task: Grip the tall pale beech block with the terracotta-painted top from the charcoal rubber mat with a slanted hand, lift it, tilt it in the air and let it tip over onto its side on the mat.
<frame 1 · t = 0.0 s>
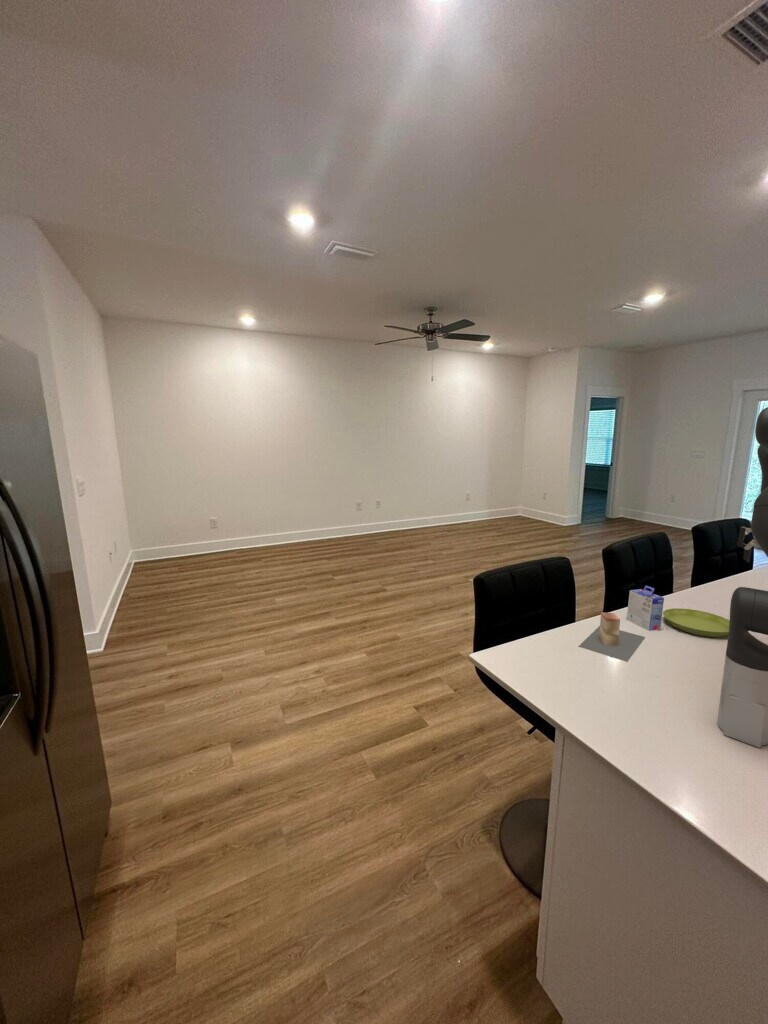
hand: (766, 564, 120), 29 cm above the table, tool pointing down, fingers open, 8 cm apart
rubber mat: (612, 643, 135), on the table
saucer: (696, 628, 146), on the table
ink cartridge box: (643, 626, 147), on the table
beech block: (608, 641, 134), point 1 cm above the table, touching rubber mat
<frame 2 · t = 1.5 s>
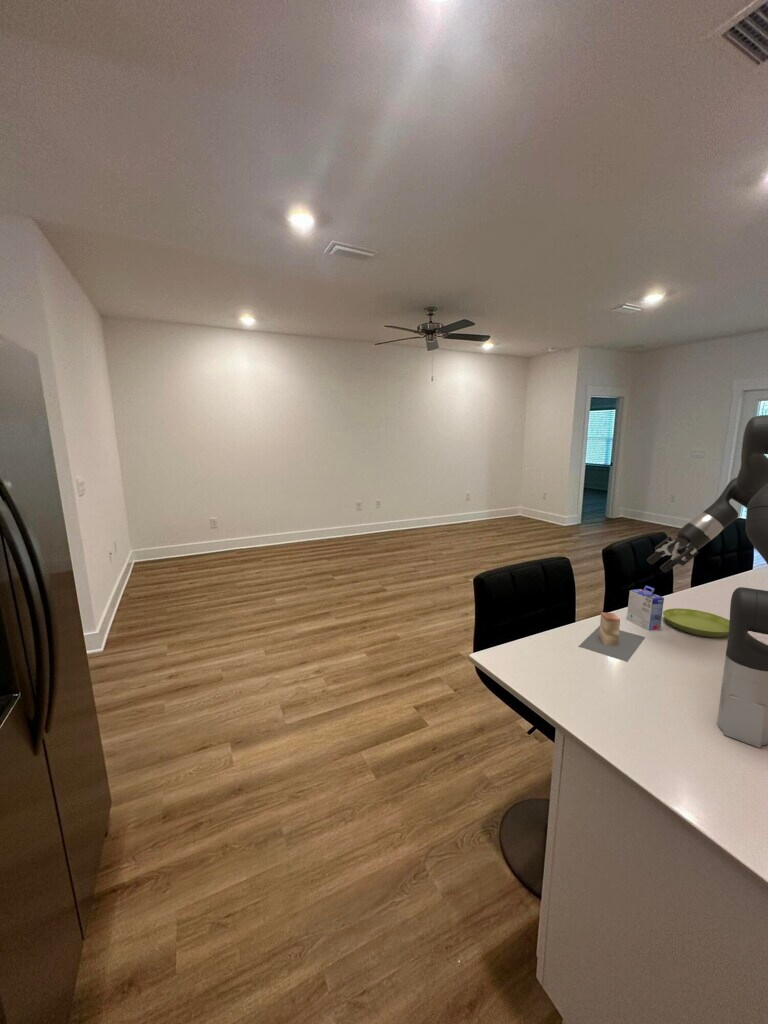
hand: (655, 566, 129), 27 cm above the table, tool tilted 45°, fingers open, 8 cm apart
nothing on the table moved.
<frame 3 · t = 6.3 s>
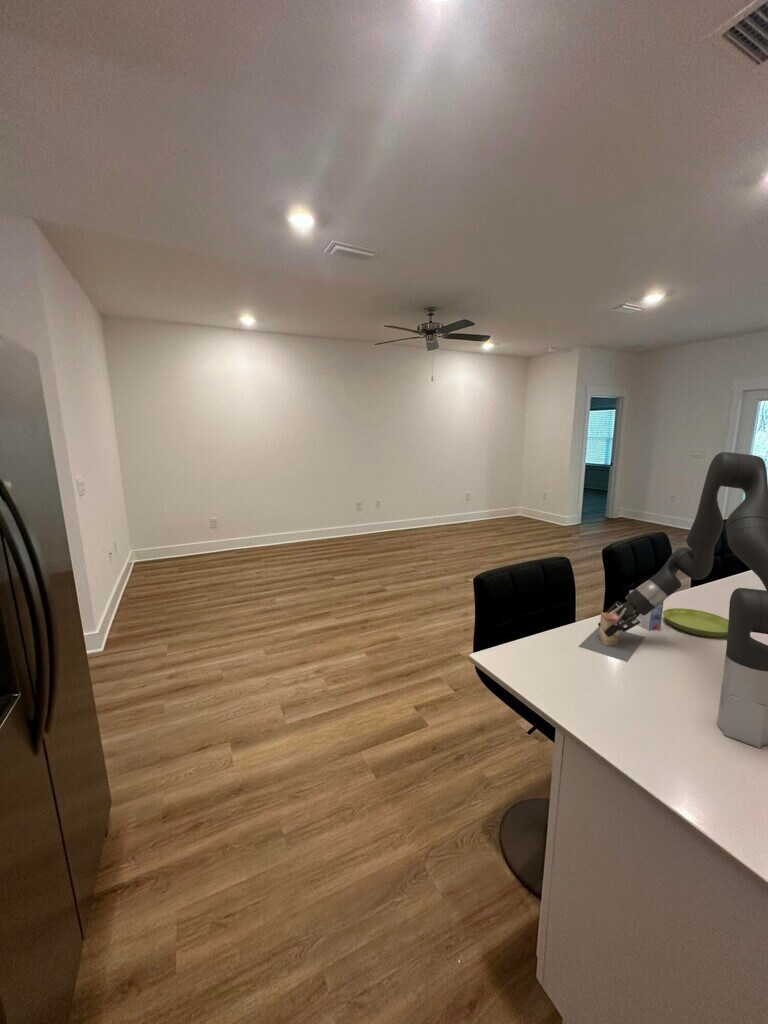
hand: (603, 630, 134), 4 cm above the table, tool tilted 45°, fingers closed on beech block, 5 cm apart
beech block: (608, 641, 134), point 1 cm above the table, touching gripper, rubber mat
everything else where it was.
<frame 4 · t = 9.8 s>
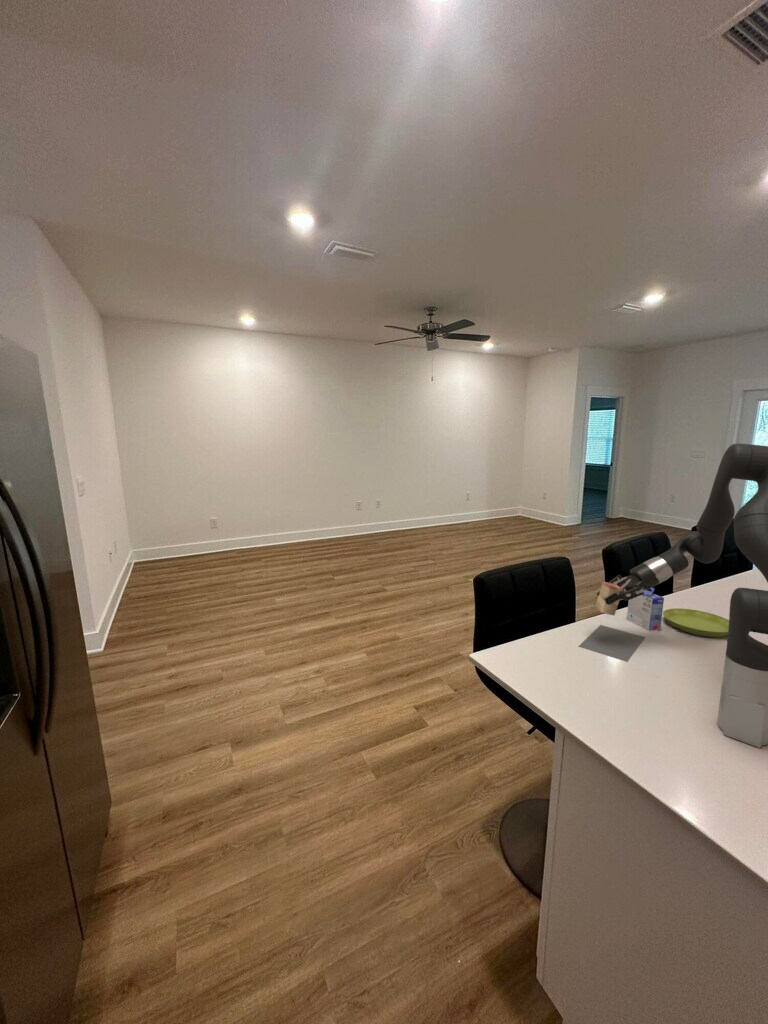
hand: (602, 599, 132), 15 cm above the table, tool tilted 60°, fingers closed on beech block, 5 cm apart
beech block: (604, 611, 132), point 11 cm above the table, tilted 14°, touching gripper
everything else where it was.
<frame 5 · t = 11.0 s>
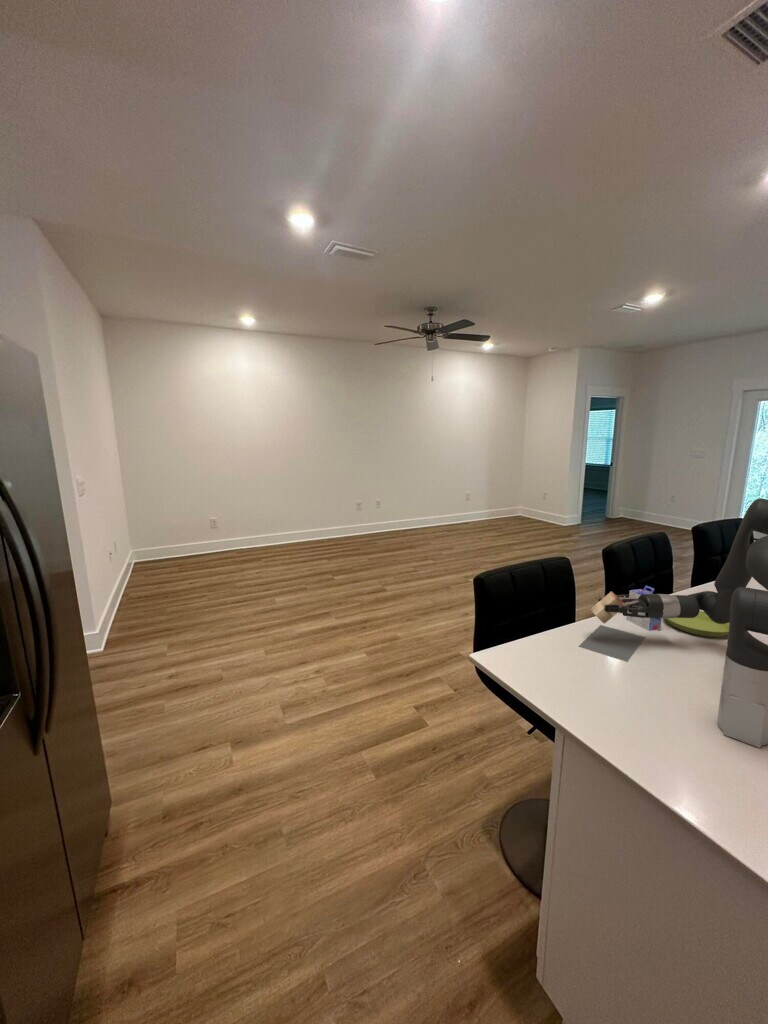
hand: (602, 605, 133), 13 cm above the table, tool horizontal, fingers closed on beech block, 5 cm apart
beech block: (596, 616, 134), point 9 cm above the table, tilted 43°, touching gripper
everything else where it was.
when the fingers open (9 cm above the table, at t = 12.8 s): beech block drops 2 cm and tips over, resting on rubber mat.
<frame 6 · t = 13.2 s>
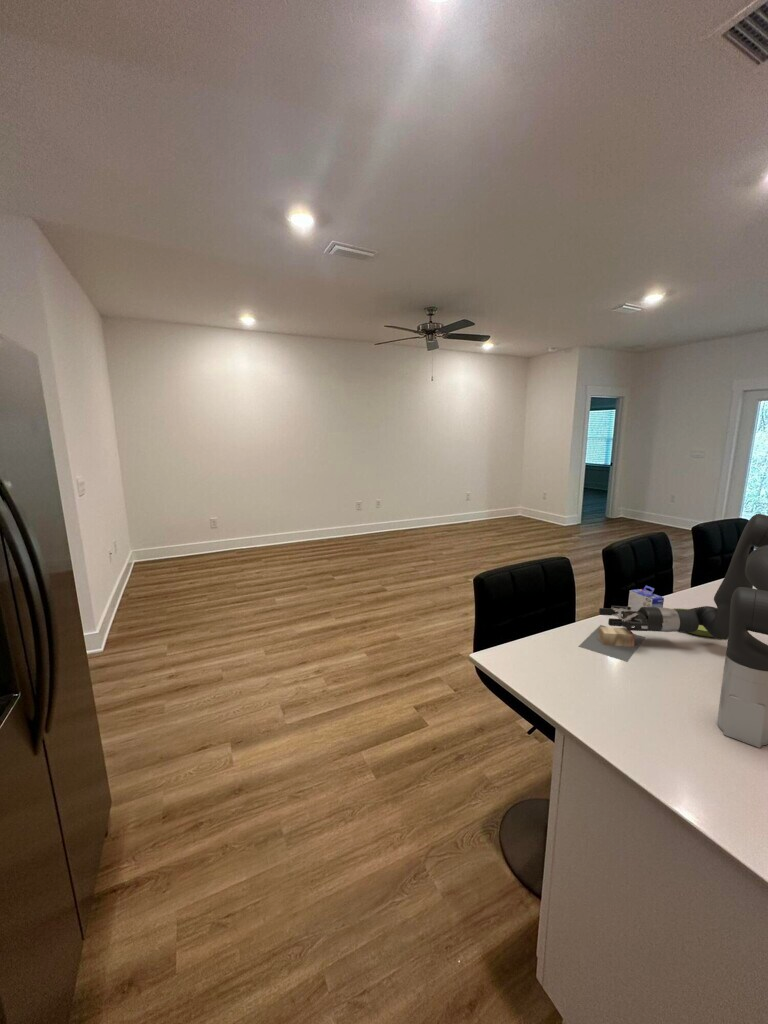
hand: (604, 616, 133), 9 cm above the table, tool horizontal, fingers open, 8 cm apart
beech block: (601, 635, 134), point 3 cm above the table, tilted 90°, touching rubber mat
everything else where it was.
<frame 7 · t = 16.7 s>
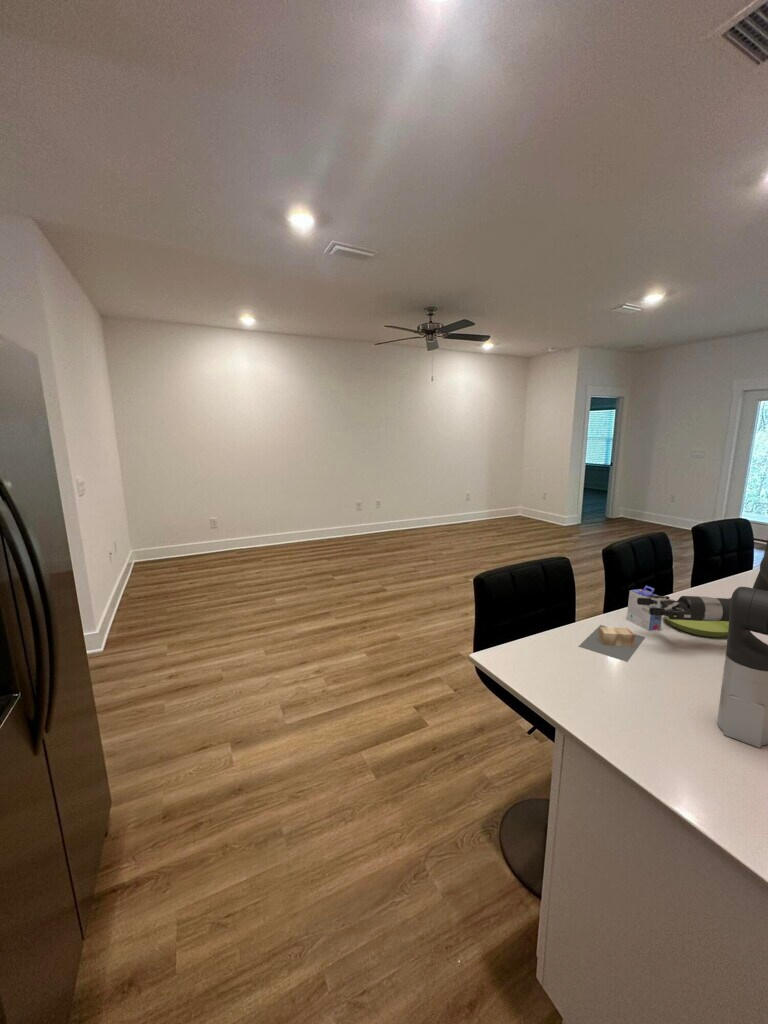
hand: (643, 605, 131), 13 cm above the table, tool horizontal, fingers open, 8 cm apart
nothing on the table moved.
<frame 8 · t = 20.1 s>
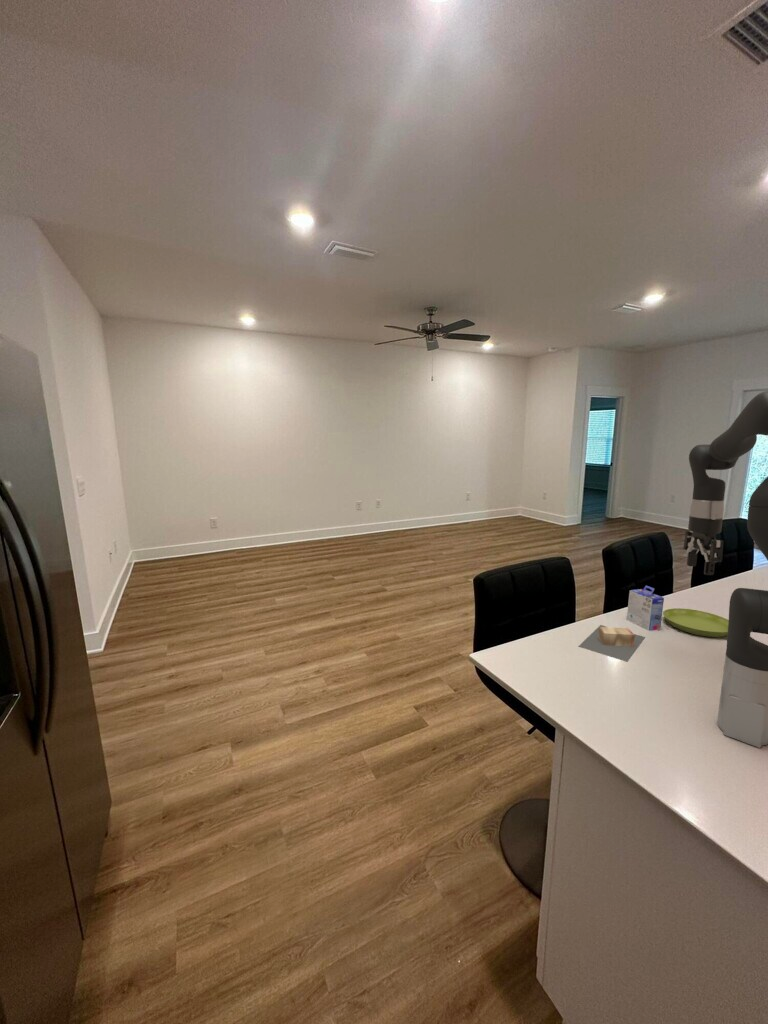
hand: (699, 570, 119), 28 cm above the table, tool pointing down, fingers open, 8 cm apart
nothing on the table moved.
at the end: beech block tilted 90°; beech block inside the target area on the rubber mat (3.8 cm from its centre), point 2.6 cm above the rubber mat's base; the gripper is holding nothing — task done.
